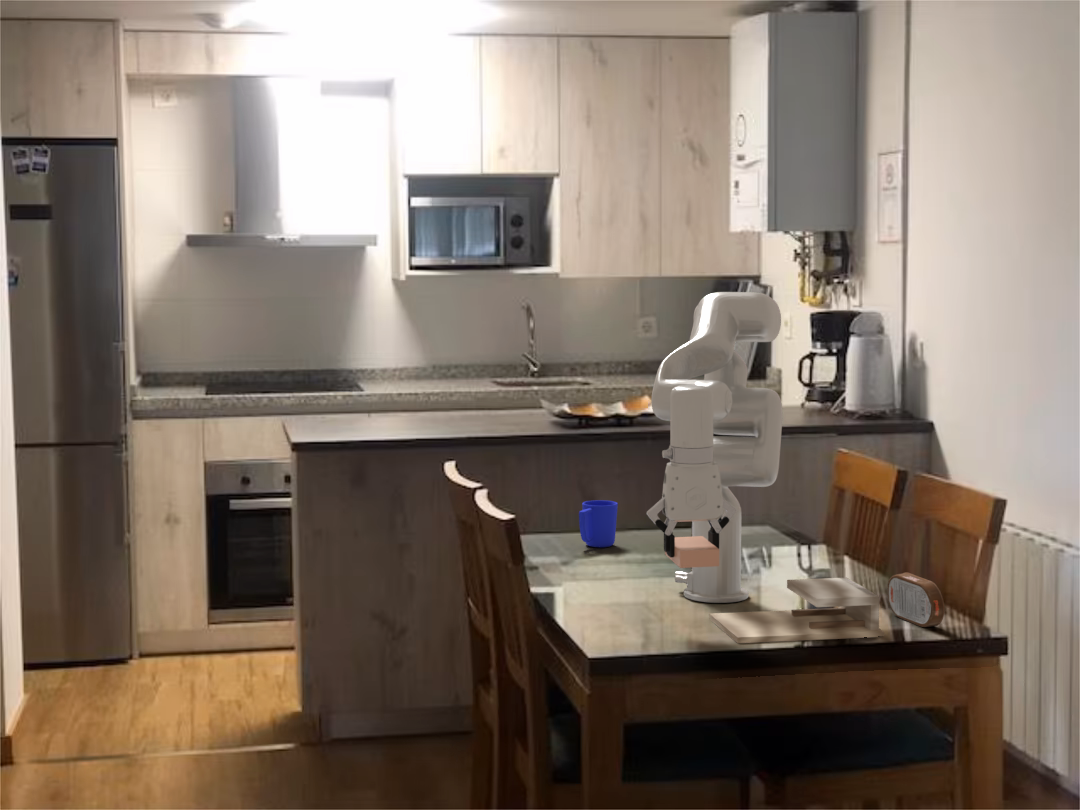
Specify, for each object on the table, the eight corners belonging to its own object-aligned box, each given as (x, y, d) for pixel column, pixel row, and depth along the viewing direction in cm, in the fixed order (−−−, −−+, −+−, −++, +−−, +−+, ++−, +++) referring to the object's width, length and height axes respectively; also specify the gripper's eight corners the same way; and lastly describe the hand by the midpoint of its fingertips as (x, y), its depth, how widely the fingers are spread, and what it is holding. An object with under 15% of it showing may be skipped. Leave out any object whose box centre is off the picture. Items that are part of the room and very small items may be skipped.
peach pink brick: (719, 566, 263) (719, 549, 262) (680, 568, 262) (680, 551, 261) (702, 552, 274) (702, 536, 273) (664, 554, 272) (664, 537, 272)
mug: (566, 549, 346) (566, 506, 345) (594, 541, 355) (594, 499, 355) (596, 553, 341) (596, 509, 340) (624, 544, 351) (624, 502, 350)
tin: (945, 630, 269) (946, 584, 268) (930, 632, 268) (931, 585, 267) (898, 612, 283) (899, 568, 282) (883, 613, 282) (884, 569, 281)
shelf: (737, 643, 260) (738, 603, 260) (709, 618, 278) (709, 581, 277) (883, 636, 265) (884, 597, 264) (846, 613, 282) (847, 576, 282)
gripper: (648, 460, 260) (648, 561, 262) (745, 457, 263) (745, 557, 265) (638, 454, 268) (638, 552, 270) (733, 450, 270) (732, 548, 273)
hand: (691, 554), depth 267 cm, fingers closed on peach pink brick, 7 cm apart
